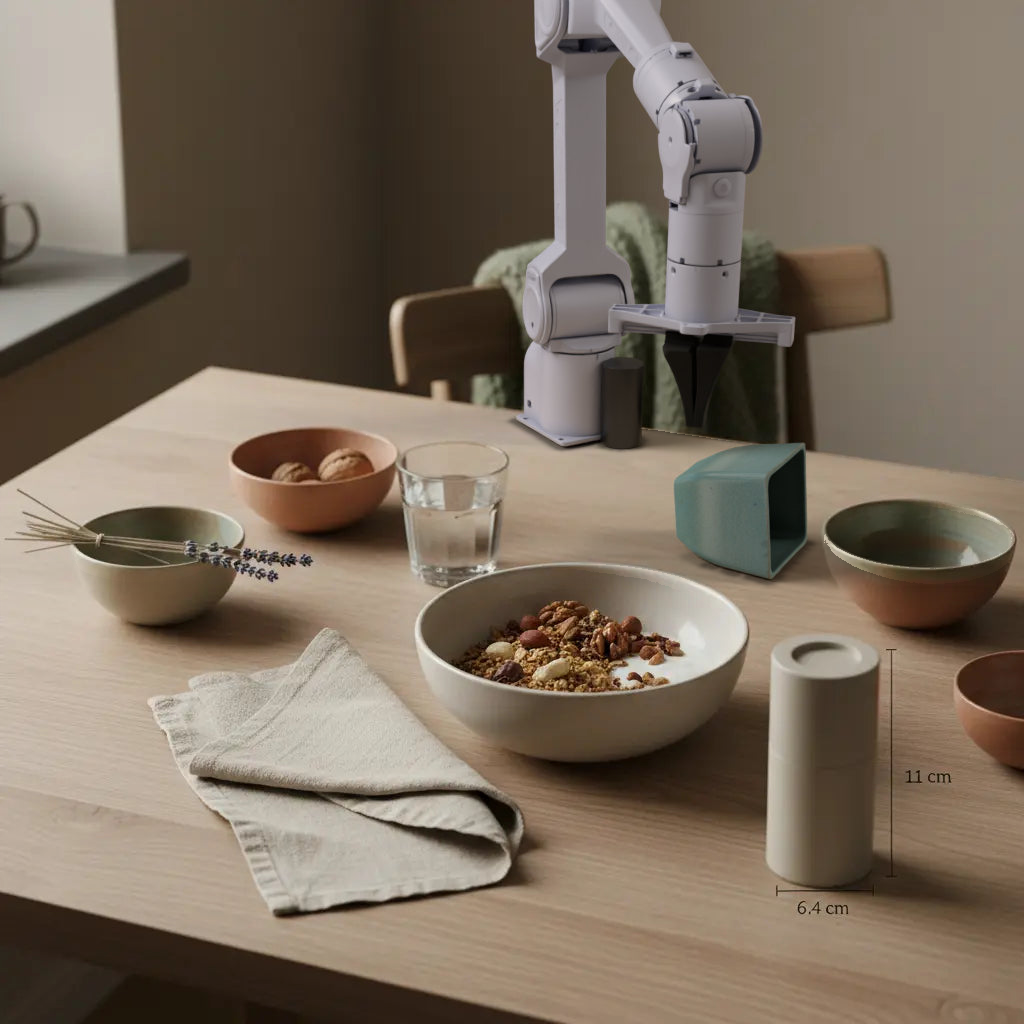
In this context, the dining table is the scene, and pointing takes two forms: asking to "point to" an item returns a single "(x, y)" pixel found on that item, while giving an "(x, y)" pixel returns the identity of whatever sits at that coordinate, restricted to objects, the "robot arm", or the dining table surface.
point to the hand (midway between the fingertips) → (695, 423)
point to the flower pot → (745, 507)
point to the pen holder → (621, 402)
